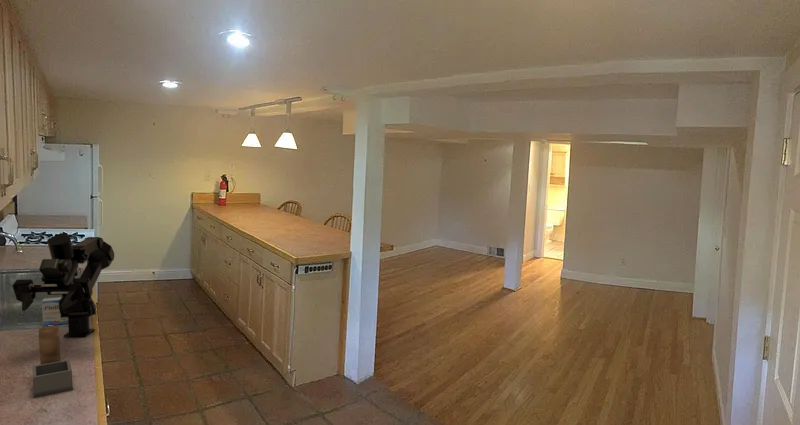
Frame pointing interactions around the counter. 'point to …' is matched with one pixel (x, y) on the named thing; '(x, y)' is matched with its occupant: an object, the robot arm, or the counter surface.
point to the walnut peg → (49, 344)
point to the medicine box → (52, 312)
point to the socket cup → (52, 378)
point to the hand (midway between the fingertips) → (42, 309)
